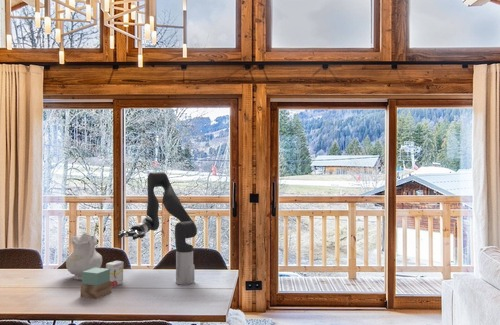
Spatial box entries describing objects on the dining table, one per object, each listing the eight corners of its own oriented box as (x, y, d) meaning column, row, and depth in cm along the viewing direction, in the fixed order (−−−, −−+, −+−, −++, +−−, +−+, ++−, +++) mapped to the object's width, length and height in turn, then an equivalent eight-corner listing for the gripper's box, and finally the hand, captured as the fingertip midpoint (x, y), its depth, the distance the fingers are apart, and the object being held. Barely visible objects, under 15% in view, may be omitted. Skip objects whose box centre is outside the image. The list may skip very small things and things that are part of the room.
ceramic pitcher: (111, 278, 226) (114, 235, 228) (80, 284, 209) (84, 236, 211) (87, 273, 237) (90, 231, 239) (57, 278, 221) (61, 233, 223)
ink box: (112, 287, 205) (112, 264, 206) (105, 286, 207) (105, 263, 208) (123, 283, 213) (123, 261, 214) (116, 281, 215) (116, 260, 216)
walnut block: (111, 292, 197) (111, 280, 197) (97, 299, 187) (97, 286, 187) (94, 290, 200) (94, 279, 200) (80, 296, 190) (80, 284, 190)
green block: (109, 281, 196) (109, 268, 197) (97, 285, 188) (97, 273, 188) (94, 279, 199) (94, 267, 199) (82, 284, 191) (82, 271, 191)
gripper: (128, 223, 235) (114, 229, 219) (150, 225, 232) (138, 231, 216) (127, 235, 235) (114, 242, 219) (150, 237, 233) (138, 245, 217)
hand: (126, 237), depth 218 cm, fingers open, 8 cm apart
